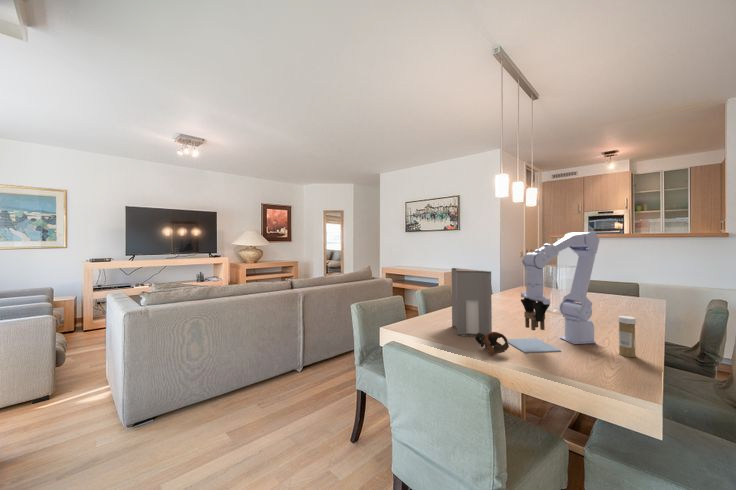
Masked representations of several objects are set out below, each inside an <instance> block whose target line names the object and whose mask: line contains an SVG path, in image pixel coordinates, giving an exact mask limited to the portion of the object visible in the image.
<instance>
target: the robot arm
mask: <svg viewBox="0 0 736 490" xmlns="http://www.w3.org/2000/svg"><path fill="white" fill-rule="evenodd" d="M599 244H600V238H599V236H598V234H597V233H596V232H595V231H582V232H580V231H579V232H577V231H575V232H573V231H571V232H567V233H565V234H564V237H562V238H561V239H559V240H557V241H556V242H555V243H544V244H543V245H542V247H540V248H536V249H534V251H533V252H527V253H526V254H524V256H523V258H522V259H521V263H522V265H523V266H524V271H525V291H523V292H520V298H522V299H520V303H521V305H523V308H524V312H528V311H535V315H536V321H537V322H538V323H540V322H543V319H544V315H545V316H546V312H547V310H548V309H549V307H550V305H551V298H548V297H547V296H544V268H545V267H547V264H548V262H550V261H551V260H554V259H555V258H557V257H558V256H559V252H562V251H563V250H566V249H567V248H569V249H570V250H571V251H572V252H573V253H574V254H576V255H577V256H578V259H577V263H576V267H575V271H574V275H573V279H572V284H571V288H570V293H569V294H566V295H564V296H563V299H562V300H561V302H560V304H559V312H560V314H561V315H562V317H563V318H564V336H559V338H560V339H562V340H564V341H566V342H568V343H570V344H573V345H580V344H581V345H582V344H583V345H584V344H586V345H587V344H596V343H597V341H595V325H594V323H593V321H592V320H591V319H590V318H591V317H592V316H593V308H592V307H593V302H592V301H591V300H590V299H589V298H588V297H587V294H588V290H589V286H590V281H591V277H592V273H593V268H594V262H595V259H596V256H597V252H598V248H599ZM544 320H545V319H544Z"/></svg>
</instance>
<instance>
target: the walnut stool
mask: <svg viewBox="0 0 736 490" xmlns="http://www.w3.org/2000/svg"><path fill="white" fill-rule="evenodd" d="M523 312H524V314H523V315H524V317H523V318H524V319H525V320H524V322H525V324H524V325H525V328H527V329H529V328H530V327H531V328H530V329H531V331H536V328H539V329H540V331H545V330H546V329H545V327H546V325H545V320H546V314H545V315H544V319H543V322H537V321H536V315H535V310H534V311H528V312H526V311H523ZM539 324H540V325H539ZM539 326H540V327H539Z"/></svg>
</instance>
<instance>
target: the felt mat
mask: <svg viewBox="0 0 736 490" xmlns="http://www.w3.org/2000/svg"><path fill="white" fill-rule="evenodd" d="M503 341H504V342H505V340H504V339H503ZM507 341H508V345H511V347H514V348H516V349H518V350H519V351H520V352H522V353H524V354H533V353H534V354H535V353H553V352H554V353H555V352H556V353H557V352H562V350H561V349H560V348H557V347H555V346H553V345H551V344H549V343H548V342H545V341H543V340H541V339H539V338H537V337H532V338H531V337H527V338H507Z"/></svg>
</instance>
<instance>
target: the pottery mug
mask: <svg viewBox="0 0 736 490" xmlns="http://www.w3.org/2000/svg"><path fill="white" fill-rule="evenodd" d="M474 338H475V339H474V340H475V341H476V342H477V343H478V345H480V347H481V349H482V348H485V349H487V348H488V351H487V355H489V356H491V357H493V355H497V354H503V353H505V352H506V351H508V349H509V348H510V346H509V345H510V344H509V343H508V341H507V339H508V338H507V337H506V336H505V335H504V334H502V333H501V332H498V331H492V332H489V333H488V334H487V335H484V334H482V333H477V334H476V336H474ZM501 338H502V340H503V341H504V340H505V341H504V343H503V344H501V343H500V342H499V341H497V340H498V339H501Z"/></svg>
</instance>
